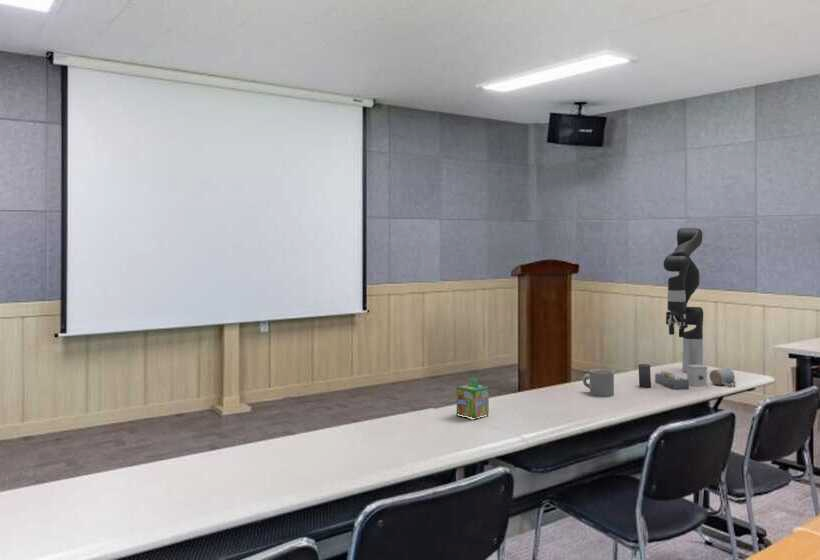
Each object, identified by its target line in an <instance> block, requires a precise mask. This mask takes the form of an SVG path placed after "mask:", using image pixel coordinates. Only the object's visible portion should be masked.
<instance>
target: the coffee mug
mask: <svg viewBox="0 0 820 560" xmlns="http://www.w3.org/2000/svg"><path fill="white" fill-rule="evenodd" d="M614 375H615V372H614V371H613V370H610V369H599V368H598V369H591V370H589V373H585V374H584V375H583V378H582V382H583V386H585V387H586V388H588V389H589V394H590V395H591V396H593V397H594V396H595V397H599V398H600V397H603V398H608V397H609V398H610V397H613V396H615V389H614V388H615V386H614V385H615V378H614V377H615V376H614ZM587 378H588V379H589V383H588V382H587Z"/></svg>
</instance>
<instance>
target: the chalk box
mask: <svg viewBox="0 0 820 560" xmlns="http://www.w3.org/2000/svg"><path fill="white" fill-rule="evenodd" d="M472 381H473V382H474V383H475V384H474V383H472ZM489 391H490V387H488V386H486V385H481V384H479V378H477V377H472V376H471V377H468V383H467V384H465V385H464V384H463V385H460V386H459V385H458V386H457V387H456V415H457V414H459V415H463V416H468V417H472V418H477V417H480V416H484V415H488V414H489V409H490V406H489V402H490V401H489V399H490V398H489V397H490V394H489V393H490V392H489Z"/></svg>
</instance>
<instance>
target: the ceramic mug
mask: <svg viewBox="0 0 820 560" xmlns="http://www.w3.org/2000/svg"><path fill="white" fill-rule="evenodd" d="M735 378H736V377H735V373H734V371H733V370H732V369H731V368H730V367H729V366H728V367H721V368H716V369H713V370H711V371H710V373H709V380H710V382H711V383H712V384H714V385H715V384H717V385H716V386H725V387H727V386H729V387H728V388H733V387H732V386H734V387H735V386H736V381H735ZM722 384H723V385H722Z"/></svg>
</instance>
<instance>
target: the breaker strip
mask: <svg viewBox="0 0 820 560" xmlns="http://www.w3.org/2000/svg"><path fill="white" fill-rule="evenodd" d="M654 374H655V377H654V382H655V383H657V384H659V385H661V386H664V387H666V388H668V389H672V390H673V389H674V390H676V391H677V390H689V389H690V388H689V387H690V385H689V380H687V378H685V377H684V378H683V377H681V376H680V375H677V374H674V373H671V372H668V371H666V370H660V373H654Z"/></svg>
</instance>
